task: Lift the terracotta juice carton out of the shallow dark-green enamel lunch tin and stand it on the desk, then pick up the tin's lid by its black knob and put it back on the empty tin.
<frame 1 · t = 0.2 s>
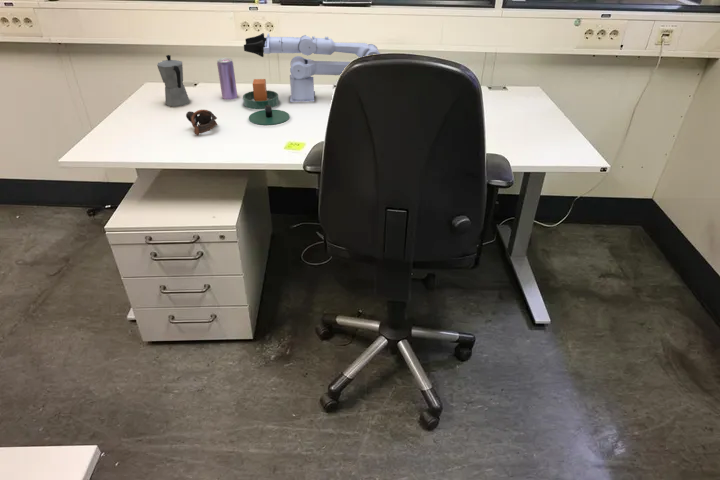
hand: (244, 44, 185), 21 cm above the table, tool horizontal, fingers open, 7 cm apart
beverage can: (230, 98, 199), on the table
pottery mug: (203, 130, 172), on the table
juice carton: (261, 103, 193), resting on lunch tin
tin lid: (269, 117, 180), point 1 cm above the table
coffeepot: (178, 104, 193), on the table
lunch tin: (261, 104, 193), on the table
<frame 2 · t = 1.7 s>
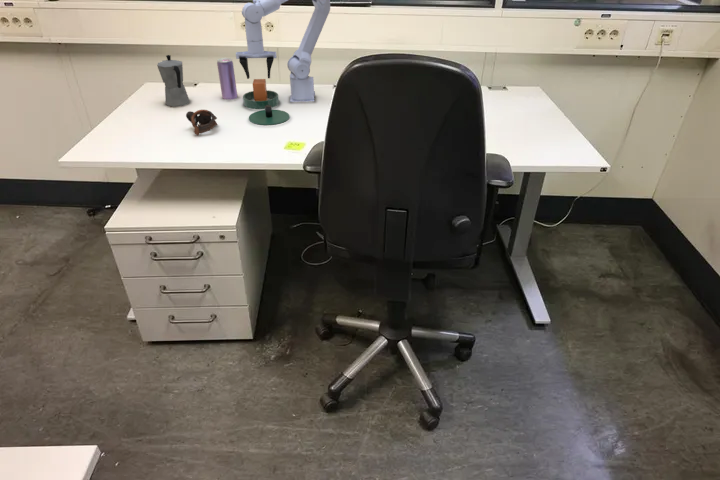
hand: (258, 77, 188), 10 cm above the table, tool pointing down, fingers open, 7 cm apart
nothing on the table moved.
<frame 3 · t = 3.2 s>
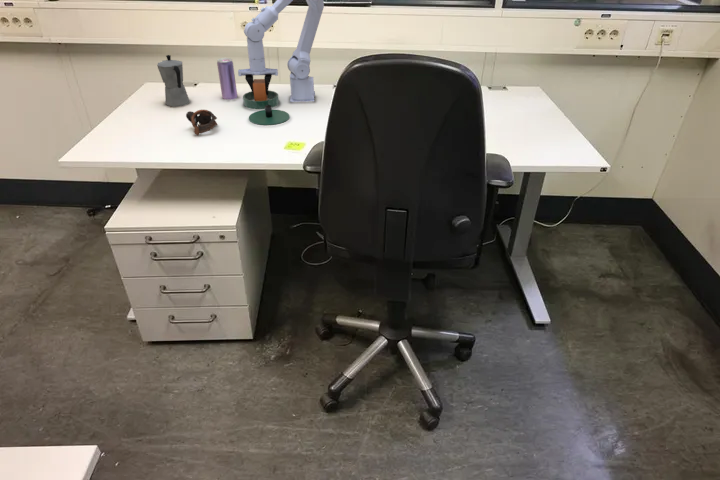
hand: (260, 94, 191), 4 cm above the table, tool pointing down, fingers closed on juice carton, 4 cm apart
juice carton: (261, 103, 193), point 1 cm above the table, touching gripper, lunch tin
everything else where it was.
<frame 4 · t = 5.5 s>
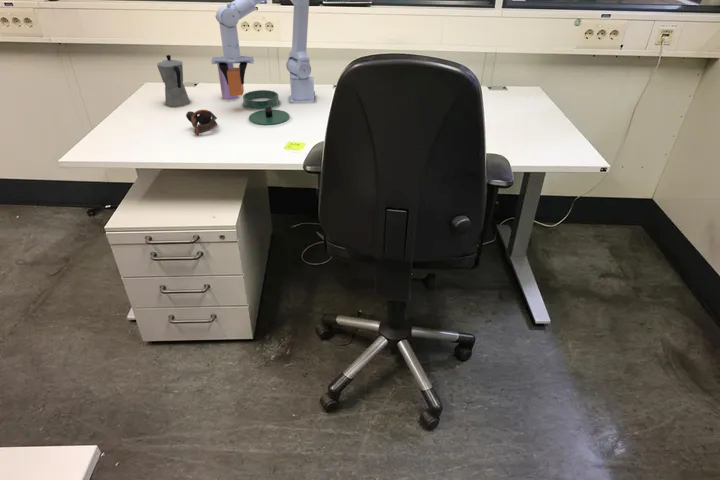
hand: (235, 83, 181), 10 cm above the table, tool pointing down, fingers closed on juice carton, 4 cm apart
juice carton: (237, 93, 183), point 7 cm above the table, touching gripper
everything else where it was.
when the fingers open (3 cm above the table, at t = 7.7 s): juice carton stays where it is, on the table.
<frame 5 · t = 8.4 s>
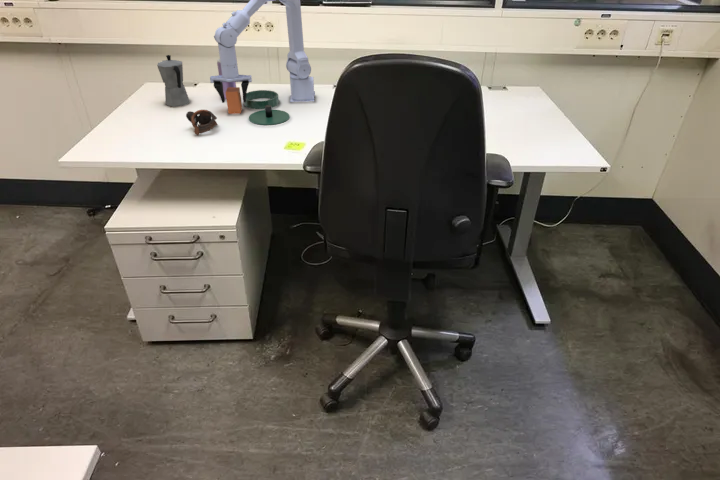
hand: (234, 101, 184), 4 cm above the table, tool pointing down, fingers open, 7 cm apart
juice carton: (235, 112, 186), on the table
everything else where it was.
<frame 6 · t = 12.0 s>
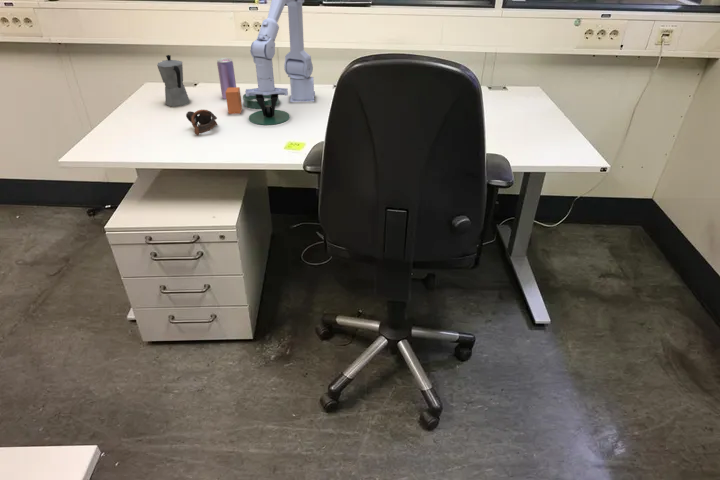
hand: (269, 115, 180), 2 cm above the table, tool pointing down, fingers closed on tin lid, 2 cm apart
tin lid: (269, 117, 180), point 1 cm above the table, touching gripper
everything else where it was.
when the fingers open (4 cm above the table, at t = 16.8 s): tin lid stays where it is, resting on lunch tin.
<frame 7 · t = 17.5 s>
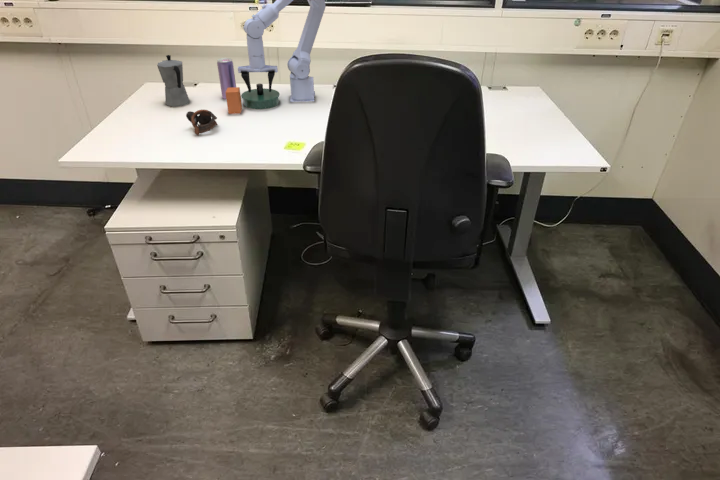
hand: (260, 91, 190), 5 cm above the table, tool pointing down, fingers open, 7 cm apart
tin lid: (260, 95, 191), point 3 cm above the table, touching lunch tin
everything else where it was.
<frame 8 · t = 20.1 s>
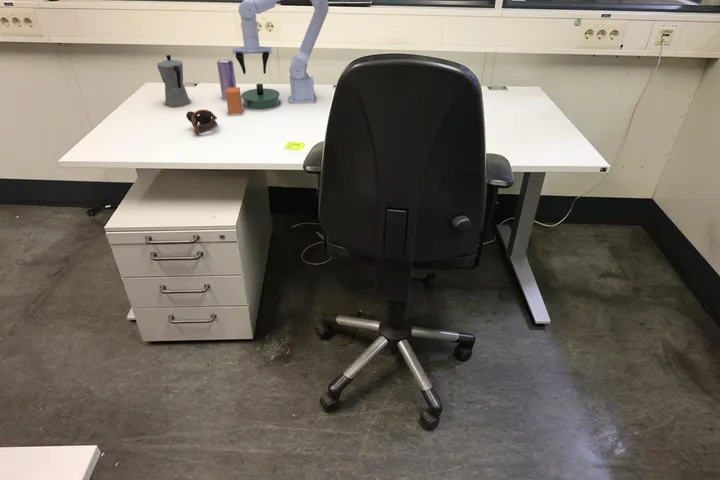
hand: (254, 73, 192), 10 cm above the table, tool pointing down, fingers open, 7 cm apart
nothing on the table moved.
at the end: juice carton inside the target area (0.0 cm from its centre), on the table; tin lid 0.0 cm off-centre on the lunch tin, point 3.5 cm above the lunch tin's base; tin lid tilted 0° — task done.
